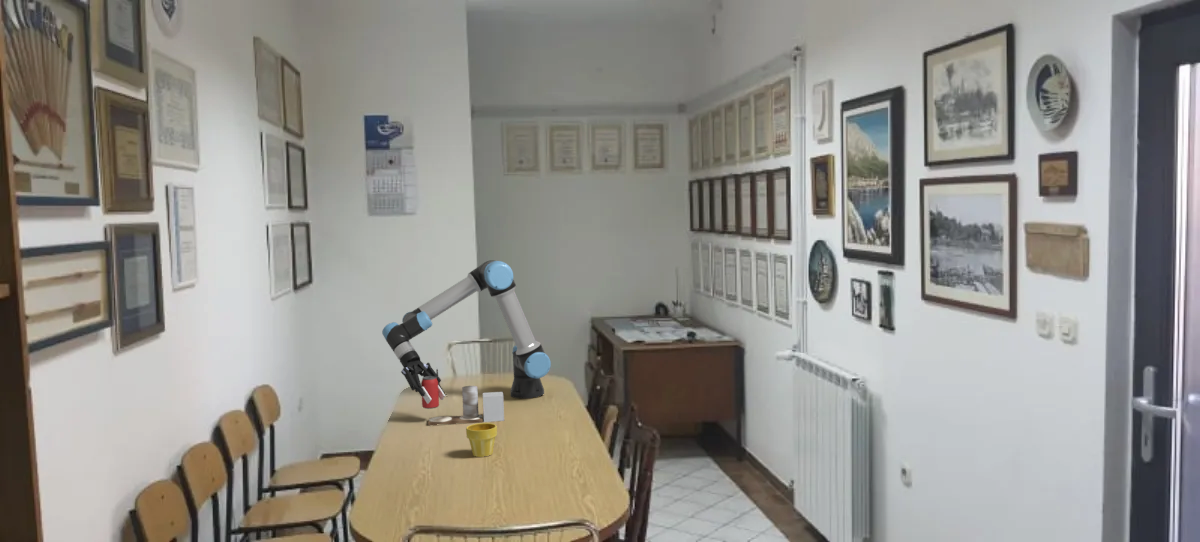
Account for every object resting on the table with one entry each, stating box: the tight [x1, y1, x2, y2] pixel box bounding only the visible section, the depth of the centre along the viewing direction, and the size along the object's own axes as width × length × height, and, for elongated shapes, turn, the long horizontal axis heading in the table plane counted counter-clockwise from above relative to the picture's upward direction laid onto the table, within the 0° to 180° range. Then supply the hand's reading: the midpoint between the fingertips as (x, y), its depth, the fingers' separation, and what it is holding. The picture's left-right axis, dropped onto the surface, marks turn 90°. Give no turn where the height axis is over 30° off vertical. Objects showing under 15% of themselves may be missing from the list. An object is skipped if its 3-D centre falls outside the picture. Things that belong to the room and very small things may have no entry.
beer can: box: [420, 376, 440, 410], centre depth 343 cm, size 7×7×12 cm
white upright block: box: [482, 391, 505, 423], centre depth 345 cm, size 8×8×10 cm
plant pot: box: [465, 422, 498, 458], centre depth 294 cm, size 10×10×10 cm
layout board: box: [427, 385, 484, 426], centre depth 342 cm, size 21×9×13 cm, turn 98°
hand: (436, 399), depth 341 cm, fingers closed on beer can, 6 cm apart
